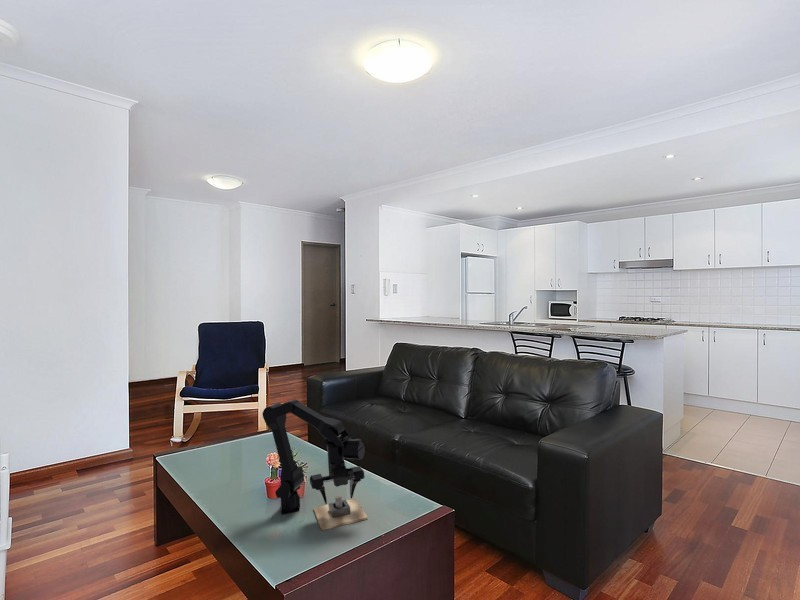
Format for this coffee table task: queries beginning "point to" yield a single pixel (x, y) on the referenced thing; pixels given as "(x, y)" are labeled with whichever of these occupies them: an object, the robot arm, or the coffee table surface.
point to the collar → (339, 509)
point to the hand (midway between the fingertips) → (338, 500)
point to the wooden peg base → (354, 516)
